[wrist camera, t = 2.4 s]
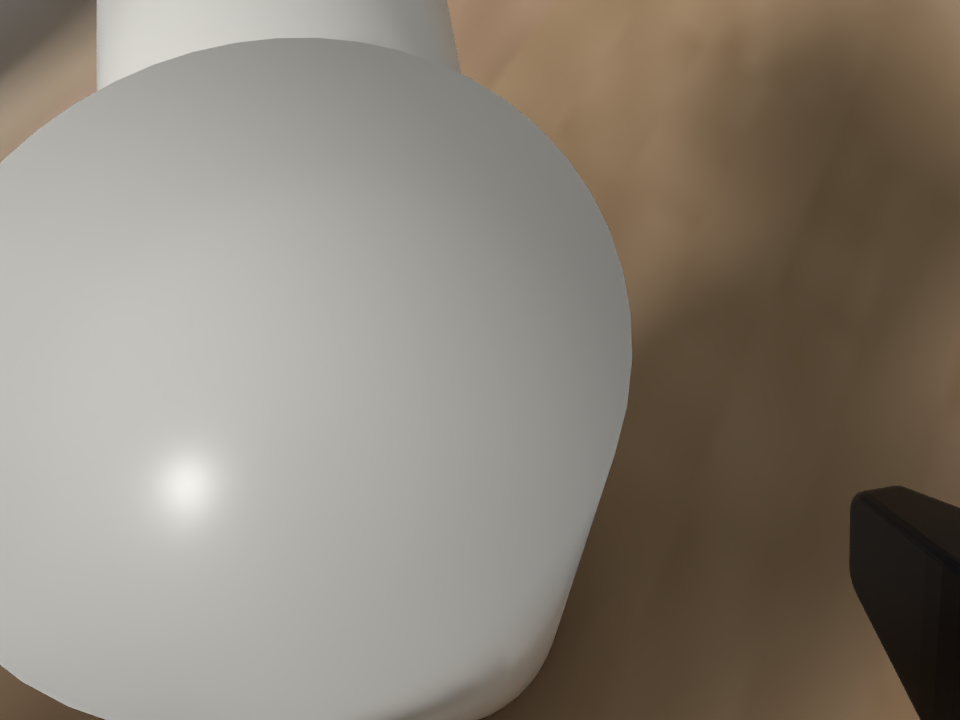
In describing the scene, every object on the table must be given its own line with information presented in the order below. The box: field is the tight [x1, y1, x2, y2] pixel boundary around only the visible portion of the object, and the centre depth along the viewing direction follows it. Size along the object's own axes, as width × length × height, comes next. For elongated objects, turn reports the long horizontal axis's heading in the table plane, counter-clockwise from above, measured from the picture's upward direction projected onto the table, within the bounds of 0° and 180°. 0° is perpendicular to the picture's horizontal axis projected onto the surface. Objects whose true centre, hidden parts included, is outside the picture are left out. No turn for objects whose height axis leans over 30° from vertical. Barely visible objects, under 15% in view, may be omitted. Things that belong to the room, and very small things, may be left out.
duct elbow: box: [0, 0, 632, 720], centre depth 12 cm, size 7×4×12 cm, turn 9°
